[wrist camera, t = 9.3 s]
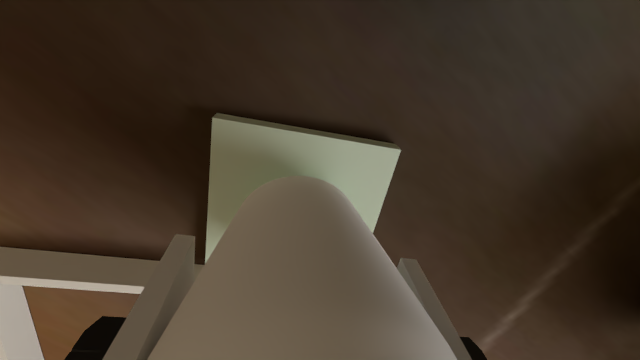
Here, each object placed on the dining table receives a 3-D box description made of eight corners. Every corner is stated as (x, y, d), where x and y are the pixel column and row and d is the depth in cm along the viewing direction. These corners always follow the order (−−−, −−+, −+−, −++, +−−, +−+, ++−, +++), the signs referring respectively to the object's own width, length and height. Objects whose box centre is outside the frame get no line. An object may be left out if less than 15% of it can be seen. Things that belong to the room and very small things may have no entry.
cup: (411, 206, 16) (651, 548, 5) (317, 308, 19) (351, 665, 8) (268, 115, 13) (170, 455, 2) (182, 251, 16) (-37, 685, 5)
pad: (216, 112, 15) (212, 117, 14) (395, 143, 17) (400, 149, 16) (208, 260, 19) (204, 271, 19) (352, 274, 21) (355, 284, 20)
